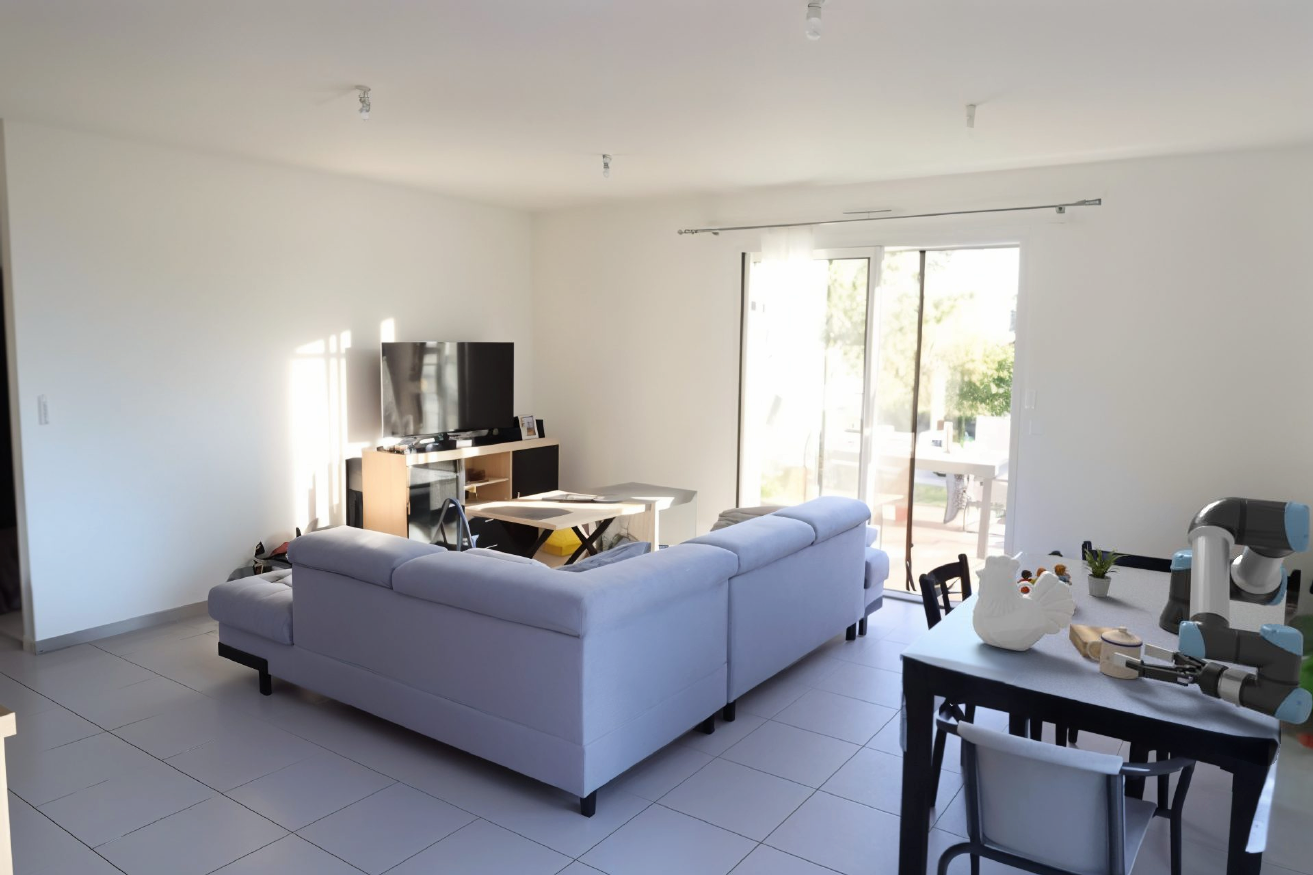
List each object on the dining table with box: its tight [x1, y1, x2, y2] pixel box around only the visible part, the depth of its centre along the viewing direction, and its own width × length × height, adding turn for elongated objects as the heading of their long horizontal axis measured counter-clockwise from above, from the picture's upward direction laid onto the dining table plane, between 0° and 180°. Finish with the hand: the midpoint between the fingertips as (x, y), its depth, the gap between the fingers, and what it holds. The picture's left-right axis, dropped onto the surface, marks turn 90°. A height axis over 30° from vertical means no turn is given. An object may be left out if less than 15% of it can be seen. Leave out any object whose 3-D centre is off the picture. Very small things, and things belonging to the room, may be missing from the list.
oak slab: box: [1068, 623, 1118, 659], centre depth 228 cm, size 13×15×4 cm
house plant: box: [1081, 547, 1130, 598], centre depth 282 cm, size 14×14×16 cm
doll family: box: [1016, 563, 1073, 594], centre depth 268 cm, size 21×10×13 cm, turn 108°
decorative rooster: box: [972, 553, 1077, 652], centre depth 226 cm, size 25×16×25 cm, turn 66°
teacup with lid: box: [1087, 626, 1144, 680], centre depth 212 cm, size 12×9×12 cm
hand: (1130, 653), depth 208 cm, fingers open, 13 cm apart
